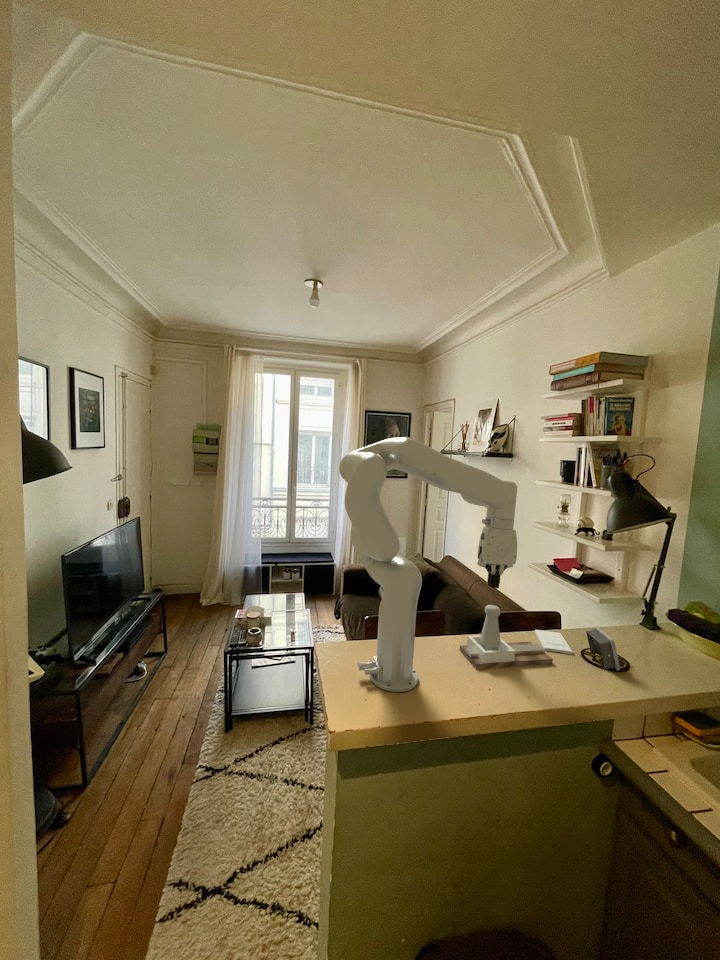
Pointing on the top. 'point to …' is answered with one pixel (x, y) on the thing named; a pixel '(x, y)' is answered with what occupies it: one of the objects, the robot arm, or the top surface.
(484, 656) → the white square tray
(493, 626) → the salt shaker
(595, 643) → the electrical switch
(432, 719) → the top surface
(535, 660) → the rail board
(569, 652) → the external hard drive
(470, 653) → the rail
